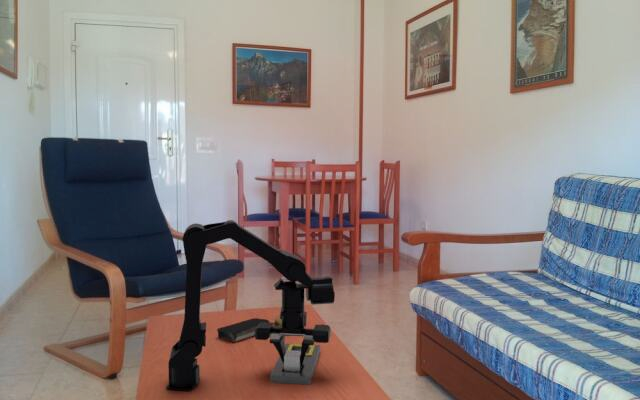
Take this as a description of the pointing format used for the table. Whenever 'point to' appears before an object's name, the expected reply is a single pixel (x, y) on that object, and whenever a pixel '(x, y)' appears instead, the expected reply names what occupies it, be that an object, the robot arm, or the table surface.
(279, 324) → the stone
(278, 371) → the grey board with holes
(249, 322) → the black sponge
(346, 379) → the table surface
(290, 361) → the grey metal block
